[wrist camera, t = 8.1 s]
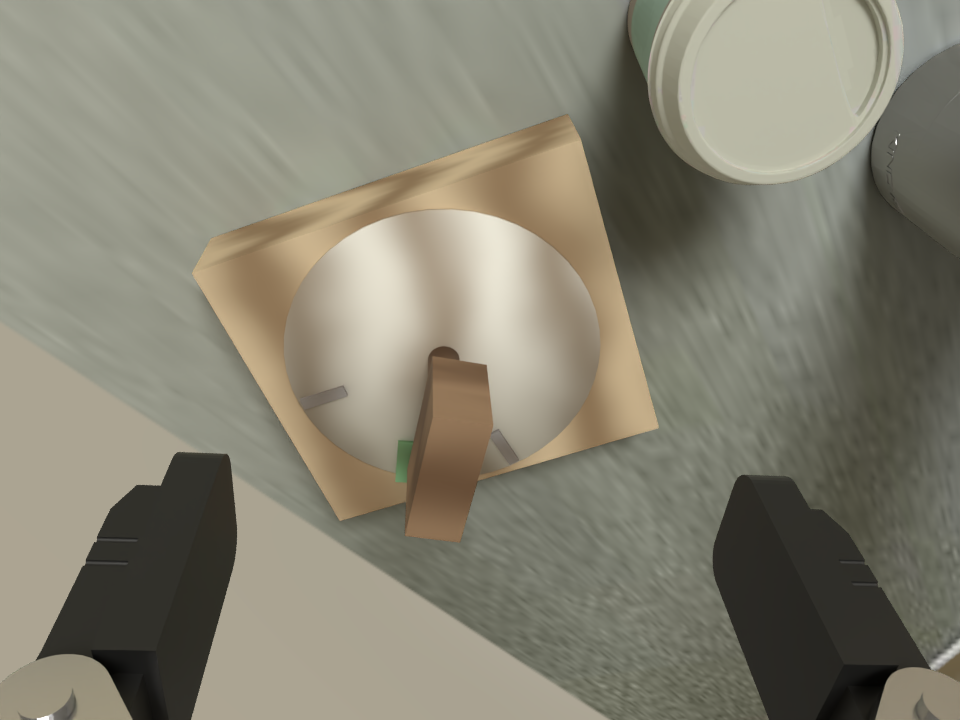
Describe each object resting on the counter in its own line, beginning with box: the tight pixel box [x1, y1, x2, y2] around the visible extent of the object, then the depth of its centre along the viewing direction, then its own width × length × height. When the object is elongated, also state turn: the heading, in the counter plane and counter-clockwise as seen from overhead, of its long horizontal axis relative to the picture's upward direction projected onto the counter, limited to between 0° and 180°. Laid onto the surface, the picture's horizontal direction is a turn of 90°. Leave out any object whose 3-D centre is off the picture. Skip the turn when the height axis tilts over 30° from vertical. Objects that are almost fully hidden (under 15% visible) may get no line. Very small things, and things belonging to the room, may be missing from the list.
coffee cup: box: [628, 0, 904, 185], centre depth 32 cm, size 8×8×12 cm
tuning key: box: [405, 346, 493, 542], centre depth 38 cm, size 11×2×9 cm, turn 168°
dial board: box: [192, 114, 659, 521], centre depth 43 cm, size 19×17×4 cm
